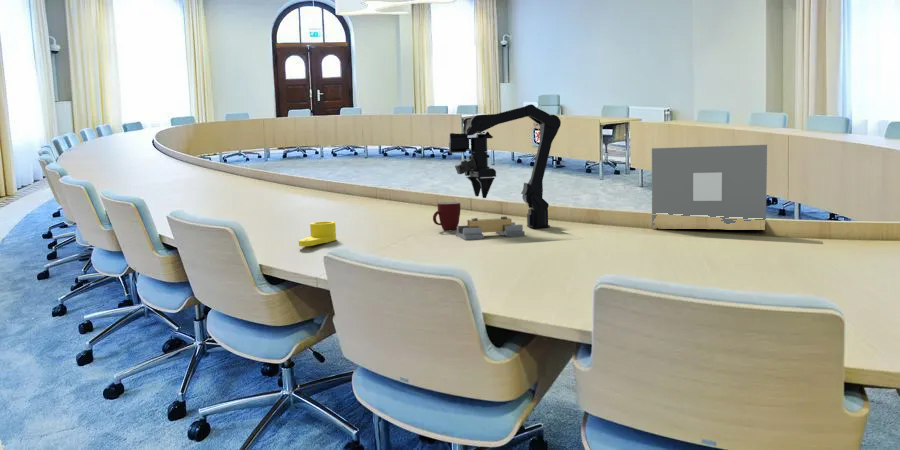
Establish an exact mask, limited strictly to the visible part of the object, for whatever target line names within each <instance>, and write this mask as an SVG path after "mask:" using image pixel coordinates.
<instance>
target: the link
mask: <svg viewBox="0 0 900 450" xmlns="http://www.w3.org/2000/svg"><path fill="white" fill-rule="evenodd" d="M466 222H467V225H468V228H475V227H482V234H483V233H484V234H486V233H496V232H501V231H504V226H505V225H512V222H513V221H512V218H511V217H508V216H504V215H503V216H500V218H499V217H498V218H497V217H496V218H482V219H479V218H478V217H473V218H471V219H467V221H466Z"/></svg>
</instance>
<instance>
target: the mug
mask: <svg viewBox="0 0 900 450" xmlns="http://www.w3.org/2000/svg"><path fill="white" fill-rule="evenodd" d="M460 215H461V202H459V201H458V202H457V201H456V202H455V201H449V202H439V203H437V211H435V212H434V214H433V216H432V221H433V223H434V224H435V225H436V226H441V228H442V230H443V231H447V230H448V231H449V230H451V231H455V230H456V231H457V226H459V224H460V218H461V217H460ZM437 216H438V218H439V222H438V221H437Z"/></svg>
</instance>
